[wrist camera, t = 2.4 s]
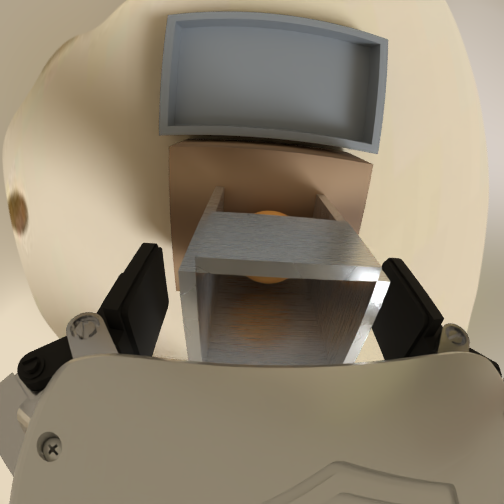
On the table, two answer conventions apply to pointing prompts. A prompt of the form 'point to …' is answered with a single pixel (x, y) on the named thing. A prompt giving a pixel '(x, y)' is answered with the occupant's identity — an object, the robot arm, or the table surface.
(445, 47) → the table surface
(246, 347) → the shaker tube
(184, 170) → the stand
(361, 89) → the tray
